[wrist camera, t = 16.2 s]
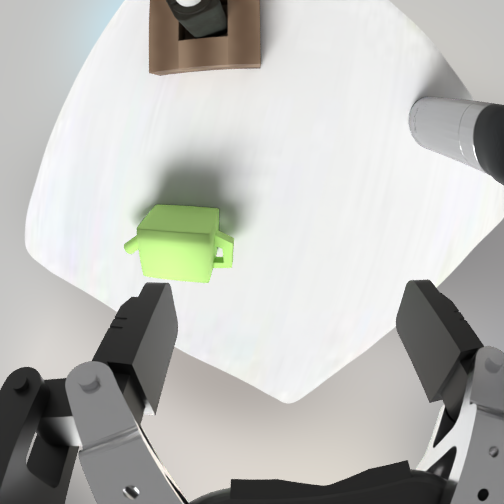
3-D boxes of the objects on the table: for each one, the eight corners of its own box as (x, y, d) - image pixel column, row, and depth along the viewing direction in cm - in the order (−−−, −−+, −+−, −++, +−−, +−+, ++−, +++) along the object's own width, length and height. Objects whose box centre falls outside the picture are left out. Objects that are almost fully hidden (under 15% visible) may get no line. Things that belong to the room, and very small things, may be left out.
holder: (258, -17, 31) (258, -29, 26) (260, 68, 38) (260, 63, 33) (160, -8, 31) (150, -17, 27) (160, 75, 38) (149, 72, 34)
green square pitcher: (137, 252, 53) (117, 282, 45) (132, 202, 48) (107, 226, 40) (234, 261, 53) (228, 295, 45) (237, 209, 48) (231, 236, 40)
